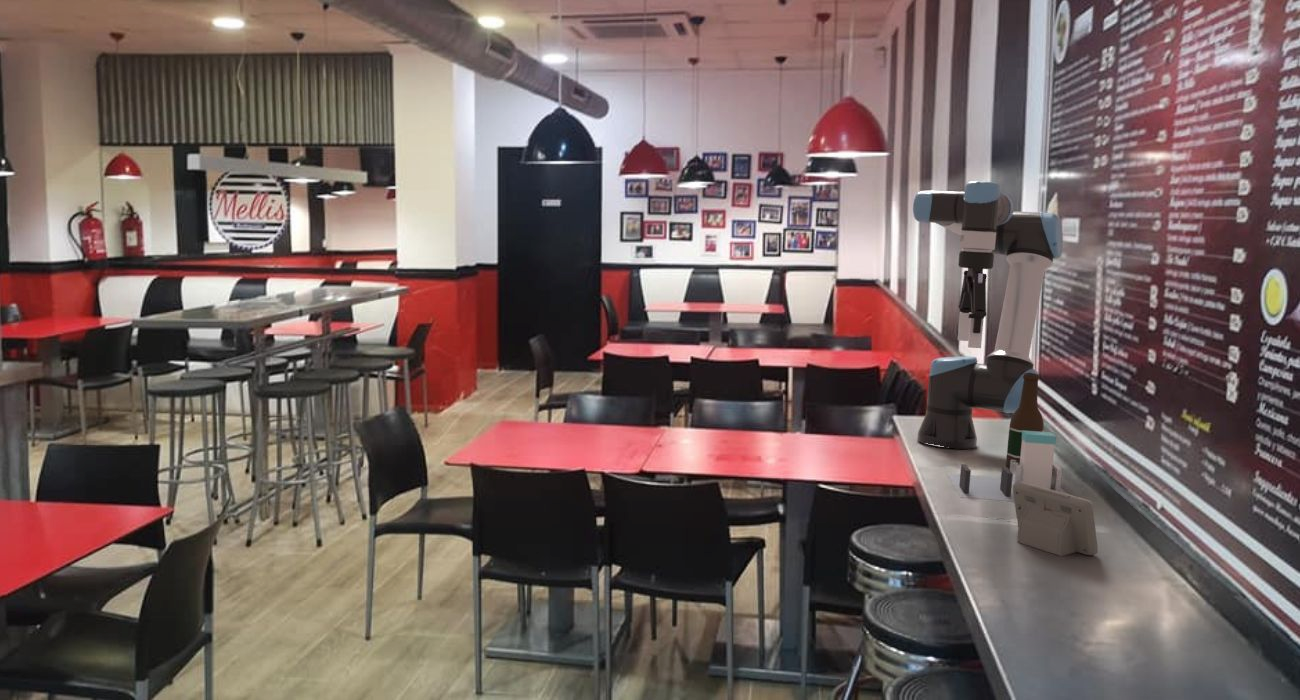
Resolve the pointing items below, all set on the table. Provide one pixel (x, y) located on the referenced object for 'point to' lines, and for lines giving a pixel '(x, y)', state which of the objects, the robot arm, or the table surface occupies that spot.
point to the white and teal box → (1037, 458)
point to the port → (1055, 478)
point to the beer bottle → (1024, 417)
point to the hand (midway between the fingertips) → (968, 344)
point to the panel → (983, 488)
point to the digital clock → (1054, 520)
